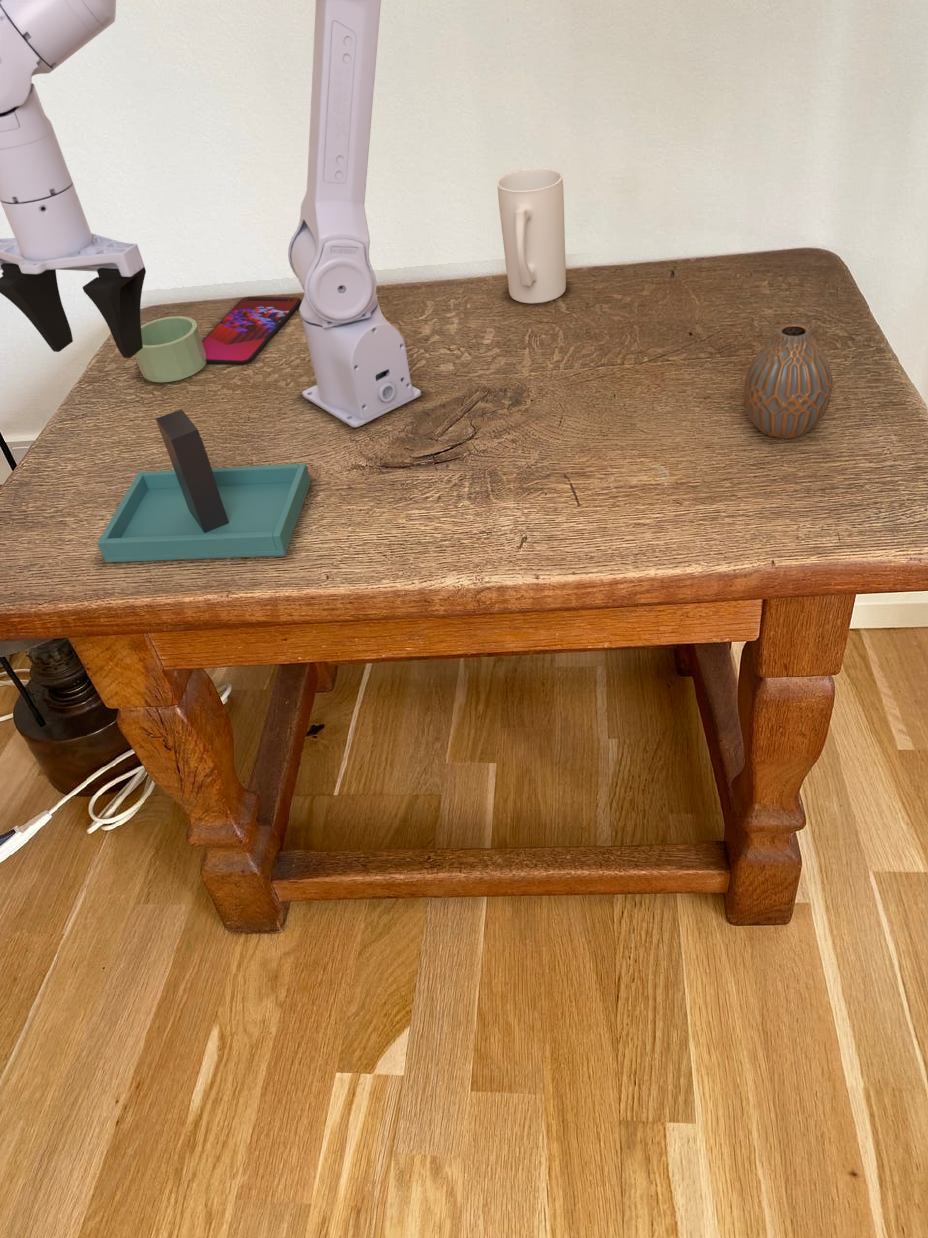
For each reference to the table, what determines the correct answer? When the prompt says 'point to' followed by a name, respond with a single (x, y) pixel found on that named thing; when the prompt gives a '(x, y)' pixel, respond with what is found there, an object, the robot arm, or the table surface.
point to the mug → (533, 233)
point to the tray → (168, 531)
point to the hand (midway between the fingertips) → (97, 349)
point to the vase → (788, 384)
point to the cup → (170, 349)
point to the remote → (193, 470)
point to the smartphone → (248, 329)
